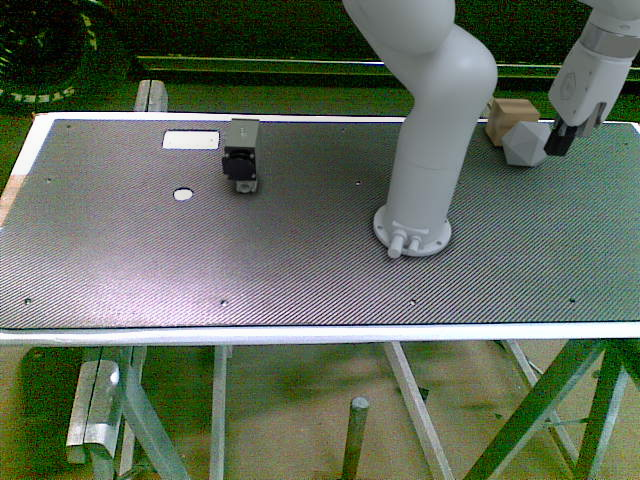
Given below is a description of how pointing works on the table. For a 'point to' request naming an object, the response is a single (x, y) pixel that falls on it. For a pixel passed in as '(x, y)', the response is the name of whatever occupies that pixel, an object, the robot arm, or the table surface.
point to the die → (526, 143)
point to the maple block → (508, 117)
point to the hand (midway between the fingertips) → (553, 153)
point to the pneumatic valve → (242, 153)
